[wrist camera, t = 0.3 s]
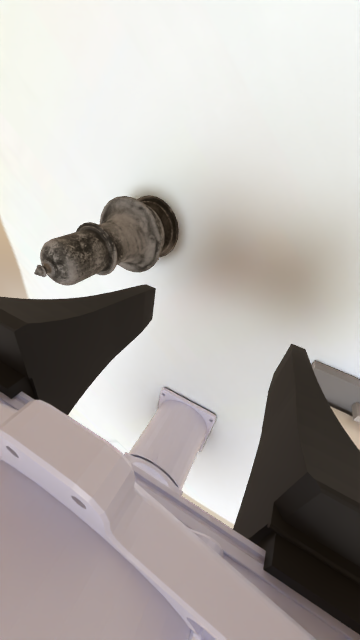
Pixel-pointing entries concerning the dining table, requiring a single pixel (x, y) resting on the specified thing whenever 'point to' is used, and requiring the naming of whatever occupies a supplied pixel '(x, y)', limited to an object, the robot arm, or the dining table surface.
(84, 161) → the dining table surface
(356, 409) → the comb rail
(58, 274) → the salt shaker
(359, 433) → the sleeve
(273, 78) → the dining table surface
